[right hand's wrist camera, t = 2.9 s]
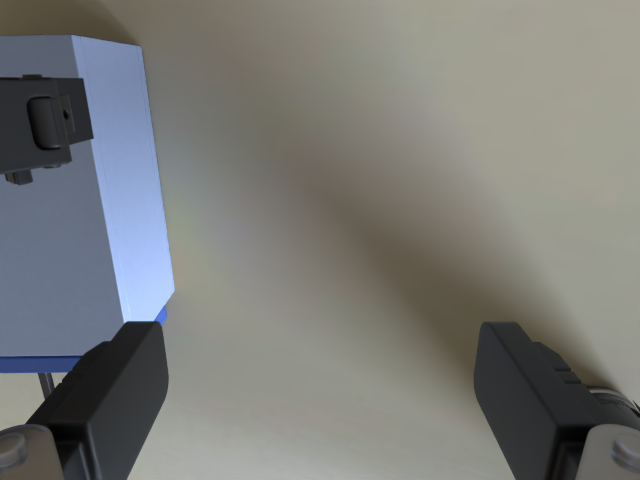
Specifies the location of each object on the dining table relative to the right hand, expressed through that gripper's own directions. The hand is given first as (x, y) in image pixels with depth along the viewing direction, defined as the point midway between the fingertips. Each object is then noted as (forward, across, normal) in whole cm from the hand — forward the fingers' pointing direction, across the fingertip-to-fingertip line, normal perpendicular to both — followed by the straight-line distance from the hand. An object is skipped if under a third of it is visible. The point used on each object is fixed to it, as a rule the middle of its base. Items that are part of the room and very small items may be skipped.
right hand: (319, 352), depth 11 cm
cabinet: (+25, +18, +1) cm, 31 cm away
